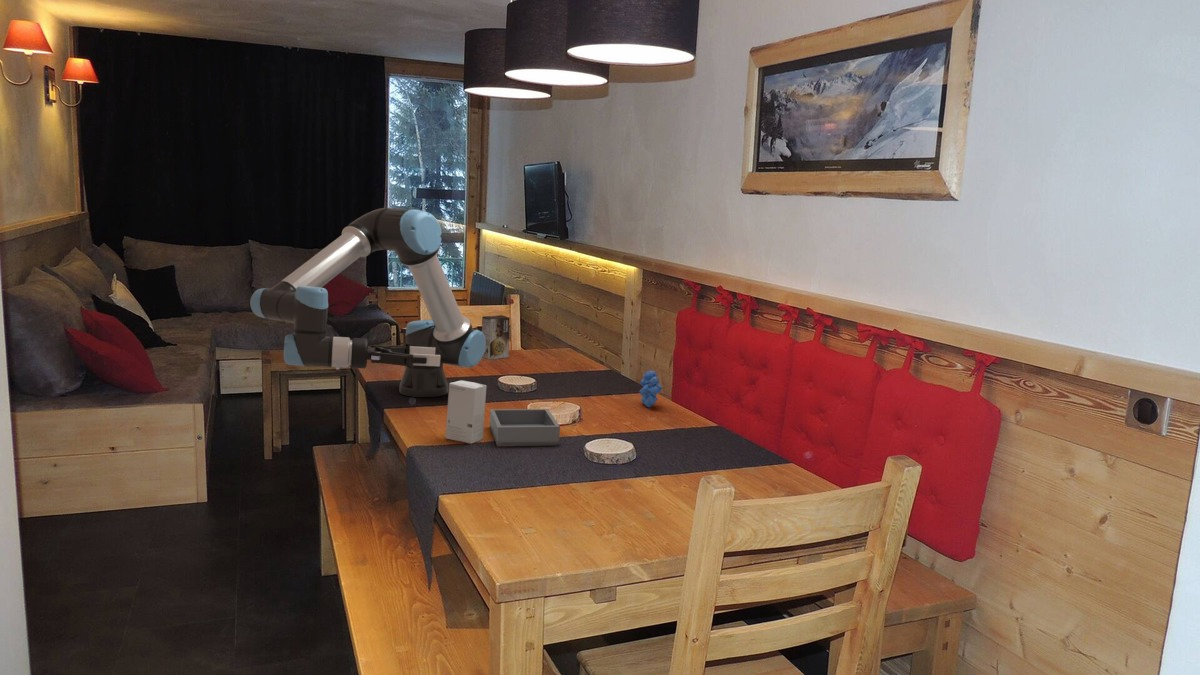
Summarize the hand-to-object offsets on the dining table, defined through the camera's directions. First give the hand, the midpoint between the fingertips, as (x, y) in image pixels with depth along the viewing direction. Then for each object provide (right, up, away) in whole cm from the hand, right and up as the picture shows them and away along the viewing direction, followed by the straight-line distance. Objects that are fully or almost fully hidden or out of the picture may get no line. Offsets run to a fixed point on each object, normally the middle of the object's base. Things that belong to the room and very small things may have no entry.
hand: (437, 356), depth 213 cm
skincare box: (+6, -22, +4) cm, 23 cm away
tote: (+21, -21, +10) cm, 32 cm away
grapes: (+57, -17, +48) cm, 77 cm away
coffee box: (0, -3, +114) cm, 114 cm away
